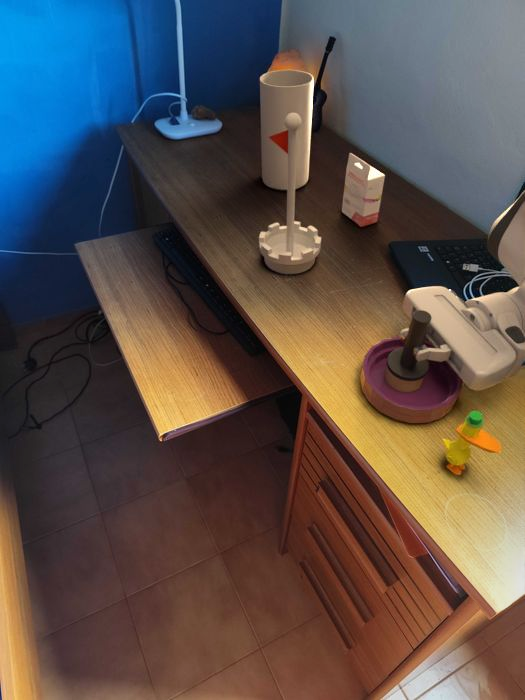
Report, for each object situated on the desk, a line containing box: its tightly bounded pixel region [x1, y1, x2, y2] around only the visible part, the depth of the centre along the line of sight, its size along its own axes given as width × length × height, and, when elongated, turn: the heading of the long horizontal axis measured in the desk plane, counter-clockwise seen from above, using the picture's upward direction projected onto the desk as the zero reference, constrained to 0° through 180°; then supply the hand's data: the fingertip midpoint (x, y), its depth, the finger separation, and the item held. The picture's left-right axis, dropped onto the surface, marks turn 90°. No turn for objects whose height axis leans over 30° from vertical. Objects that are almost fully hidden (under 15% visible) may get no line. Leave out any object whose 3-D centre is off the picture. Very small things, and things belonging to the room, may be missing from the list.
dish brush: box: [385, 310, 432, 392], centre depth 72 cm, size 6×6×14 cm
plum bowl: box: [359, 336, 464, 424], centre depth 75 cm, size 15×15×4 cm
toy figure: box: [441, 410, 503, 476], centre depth 61 cm, size 7×4×12 cm, turn 48°
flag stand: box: [258, 113, 322, 275], centre depth 90 cm, size 13×13×30 cm
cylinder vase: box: [259, 69, 315, 191], centre depth 117 cm, size 12×12×25 cm
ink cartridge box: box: [341, 152, 386, 228], centre depth 107 cm, size 9×5×15 cm, turn 27°
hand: (408, 345), depth 71 cm, fingers closed on dish brush, 2 cm apart
